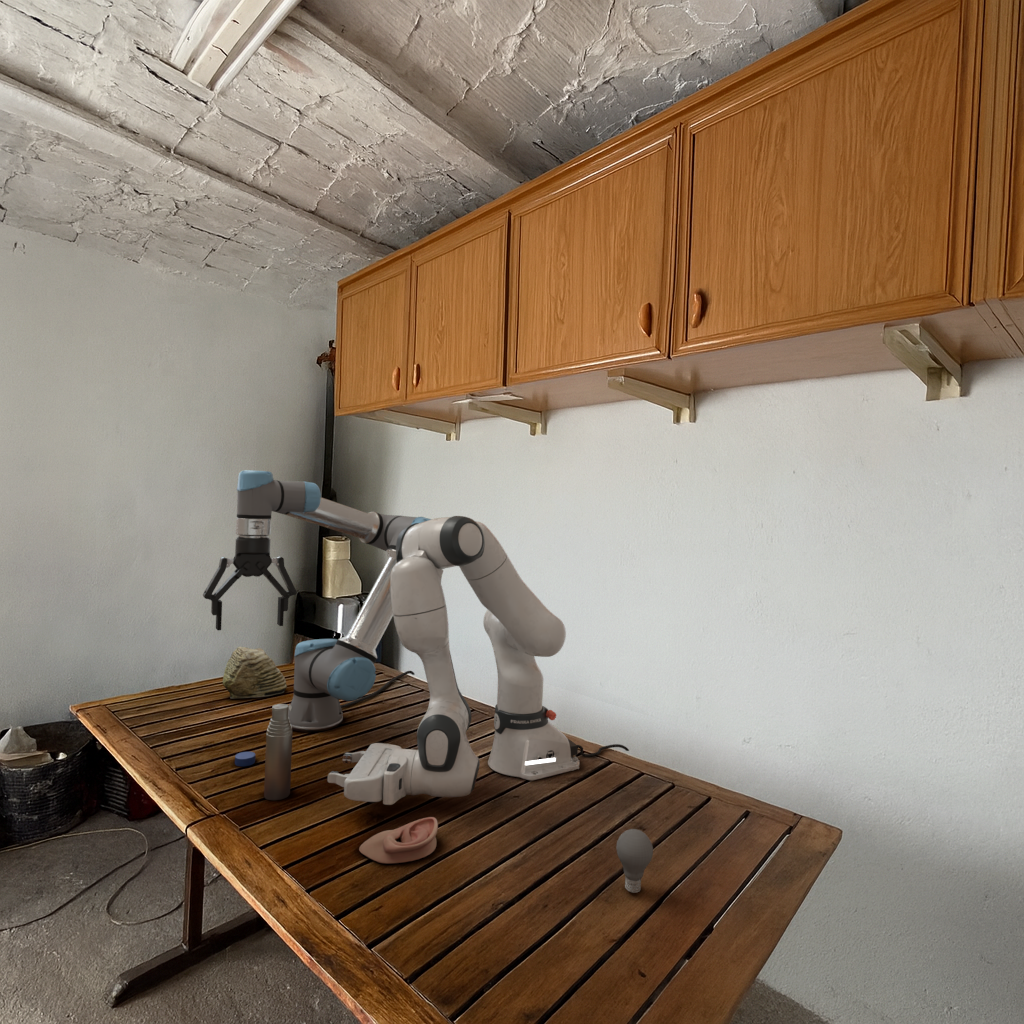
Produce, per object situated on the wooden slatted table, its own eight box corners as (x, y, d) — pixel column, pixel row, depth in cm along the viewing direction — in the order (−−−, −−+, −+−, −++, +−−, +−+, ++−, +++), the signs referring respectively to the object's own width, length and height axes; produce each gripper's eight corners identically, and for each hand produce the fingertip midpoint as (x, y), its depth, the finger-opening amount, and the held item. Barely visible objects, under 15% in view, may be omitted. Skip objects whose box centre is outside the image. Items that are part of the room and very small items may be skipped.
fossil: (218, 695, 195) (220, 647, 195) (278, 685, 208) (279, 640, 207) (228, 703, 189) (230, 653, 188) (289, 692, 201) (290, 645, 201)
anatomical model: (352, 836, 111) (378, 805, 123) (351, 858, 111) (377, 826, 123) (423, 847, 109) (444, 815, 120) (422, 870, 109) (443, 836, 120)
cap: (255, 757, 152) (255, 750, 152) (255, 765, 148) (255, 757, 148) (234, 759, 150) (235, 752, 150) (234, 767, 146) (234, 760, 146)
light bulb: (610, 879, 108) (613, 822, 108) (644, 879, 109) (647, 822, 109) (619, 902, 102) (622, 840, 102) (655, 901, 103) (658, 840, 103)
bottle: (295, 792, 135) (298, 704, 135) (278, 802, 131) (282, 711, 130) (275, 787, 137) (278, 700, 137) (258, 797, 132) (261, 707, 132)
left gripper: (196, 537, 138) (192, 634, 138) (311, 537, 152) (308, 626, 152) (191, 535, 144) (188, 627, 145) (303, 535, 158) (300, 620, 158)
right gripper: (412, 737, 143) (352, 734, 144) (390, 777, 122) (319, 772, 123) (411, 765, 143) (351, 761, 144) (388, 809, 122) (318, 804, 123)
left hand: (250, 627), depth 148 cm, fingers open, 13 cm apart
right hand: (336, 767), depth 133 cm, fingers open, 8 cm apart
